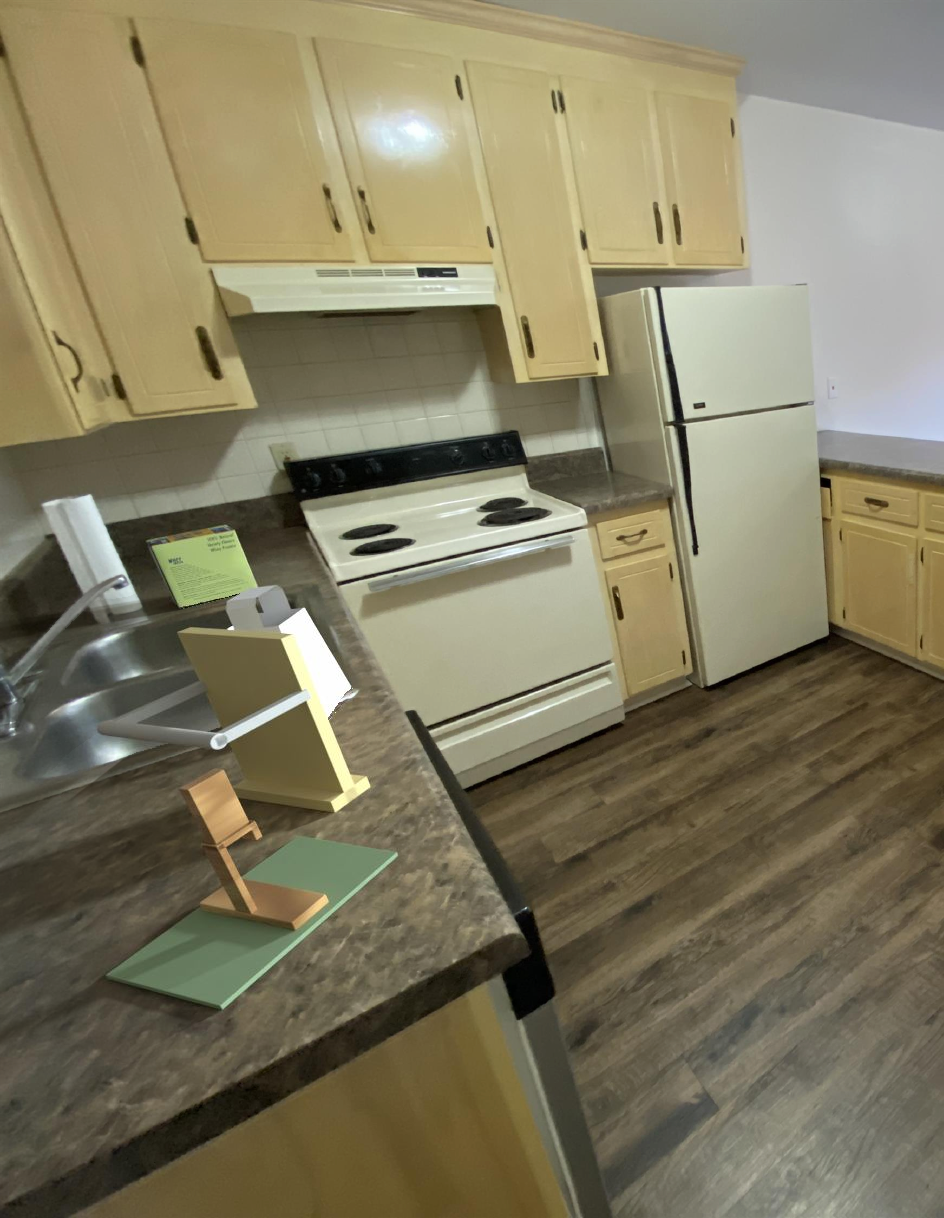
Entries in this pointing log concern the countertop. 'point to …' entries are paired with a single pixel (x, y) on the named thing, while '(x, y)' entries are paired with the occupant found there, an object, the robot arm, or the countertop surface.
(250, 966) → the mat
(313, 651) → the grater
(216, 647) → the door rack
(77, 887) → the countertop surface
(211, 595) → the protein box
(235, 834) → the phone stand
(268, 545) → the countertop surface
